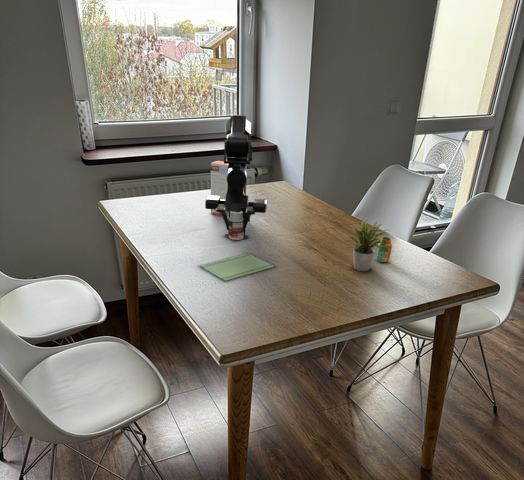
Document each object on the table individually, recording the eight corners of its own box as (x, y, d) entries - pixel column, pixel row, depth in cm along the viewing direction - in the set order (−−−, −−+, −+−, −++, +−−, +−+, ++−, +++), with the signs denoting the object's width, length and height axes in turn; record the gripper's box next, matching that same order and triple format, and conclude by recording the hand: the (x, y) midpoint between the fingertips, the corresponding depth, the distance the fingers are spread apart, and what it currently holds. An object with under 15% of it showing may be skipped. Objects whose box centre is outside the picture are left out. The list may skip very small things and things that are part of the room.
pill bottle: (228, 234, 168) (228, 209, 163) (243, 235, 168) (243, 209, 164) (228, 240, 164) (229, 213, 159) (243, 240, 164) (244, 214, 160)
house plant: (373, 282, 164) (381, 232, 155) (333, 271, 170) (339, 222, 161) (388, 268, 174) (397, 220, 166) (351, 258, 180) (357, 212, 172)
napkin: (199, 266, 169) (199, 265, 168) (248, 254, 180) (248, 253, 179) (225, 281, 160) (225, 280, 159) (274, 267, 171) (274, 266, 170)
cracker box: (246, 217, 215) (247, 165, 204) (237, 220, 211) (238, 167, 200) (219, 210, 221) (218, 159, 210) (210, 213, 217) (209, 162, 206)
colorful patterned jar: (390, 259, 180) (394, 237, 176) (388, 264, 177) (392, 241, 172) (376, 257, 182) (380, 235, 177) (374, 261, 178) (378, 239, 174)
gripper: (201, 185, 150) (202, 237, 158) (264, 190, 149) (262, 241, 157) (208, 176, 160) (209, 225, 168) (268, 180, 159) (266, 229, 167)
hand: (236, 230), depth 165 cm, fingers closed on pill bottle, 5 cm apart
